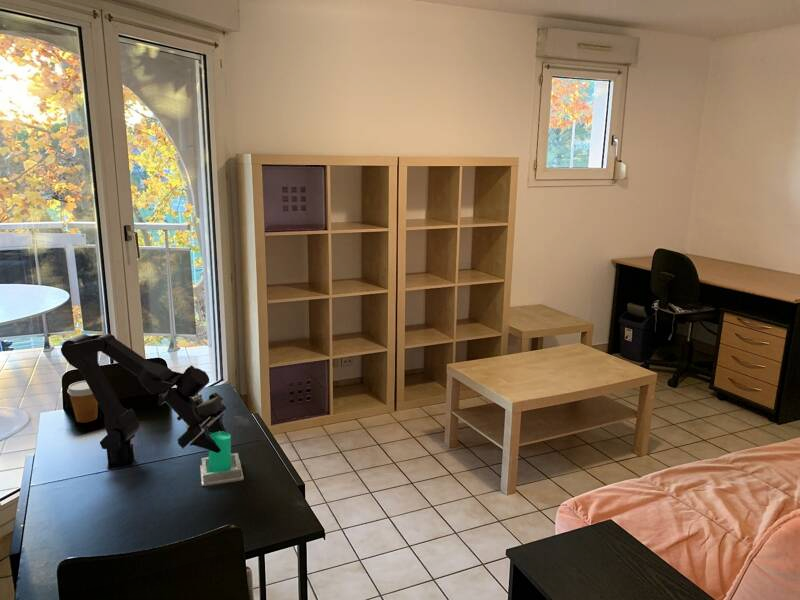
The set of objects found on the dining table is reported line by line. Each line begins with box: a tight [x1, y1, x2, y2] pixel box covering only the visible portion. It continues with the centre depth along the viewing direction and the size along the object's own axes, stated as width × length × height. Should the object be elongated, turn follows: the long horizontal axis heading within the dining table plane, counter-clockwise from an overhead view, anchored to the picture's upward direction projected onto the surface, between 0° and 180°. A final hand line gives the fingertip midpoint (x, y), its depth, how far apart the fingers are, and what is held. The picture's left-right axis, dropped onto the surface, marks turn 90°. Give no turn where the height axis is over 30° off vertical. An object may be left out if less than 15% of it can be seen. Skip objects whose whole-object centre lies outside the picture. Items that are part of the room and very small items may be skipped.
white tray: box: [199, 452, 245, 488], centre depth 172 cm, size 11×17×4 cm, turn 20°
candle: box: [208, 431, 232, 473], centre depth 168 cm, size 6×6×12 cm
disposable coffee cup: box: [66, 380, 99, 424], centre depth 201 cm, size 10×10×12 cm
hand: (224, 446), depth 168 cm, fingers open, 6 cm apart
